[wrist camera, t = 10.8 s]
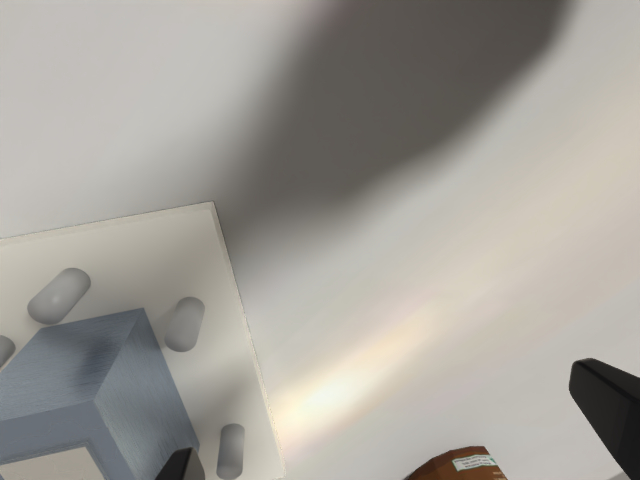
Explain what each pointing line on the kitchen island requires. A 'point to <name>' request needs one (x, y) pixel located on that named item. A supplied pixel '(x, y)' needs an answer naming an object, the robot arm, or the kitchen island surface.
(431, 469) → the food container
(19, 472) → the block
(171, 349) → the cream pegged board
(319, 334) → the kitchen island surface
